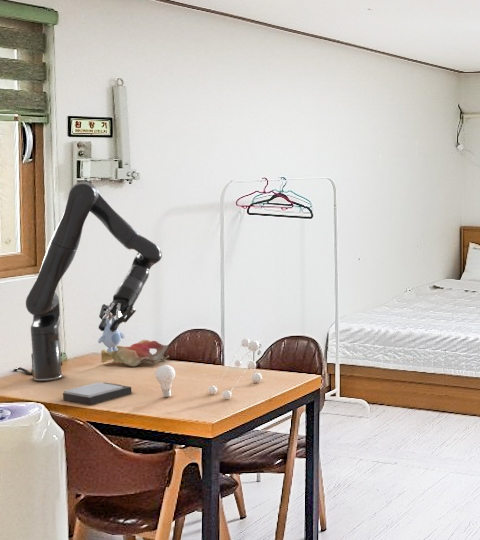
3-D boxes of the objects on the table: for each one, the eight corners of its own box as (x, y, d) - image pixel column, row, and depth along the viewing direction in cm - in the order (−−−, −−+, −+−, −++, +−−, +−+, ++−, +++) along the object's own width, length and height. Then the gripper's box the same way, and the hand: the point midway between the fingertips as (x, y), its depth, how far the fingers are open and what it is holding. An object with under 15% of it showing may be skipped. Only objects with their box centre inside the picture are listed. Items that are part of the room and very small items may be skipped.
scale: (63, 400, 291) (62, 390, 291) (104, 389, 305) (104, 380, 304) (90, 405, 284) (89, 395, 284) (131, 393, 298) (131, 384, 298)
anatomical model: (141, 370, 332) (135, 345, 331) (97, 376, 343) (91, 351, 342) (185, 355, 352) (179, 331, 352) (141, 361, 363) (136, 337, 362)
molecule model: (275, 387, 310) (282, 341, 305) (225, 408, 288) (232, 358, 283) (244, 374, 315) (250, 328, 310) (193, 393, 293) (199, 344, 288)
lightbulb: (170, 394, 297) (168, 362, 295) (180, 396, 293) (178, 364, 291) (153, 397, 292) (151, 365, 291) (163, 400, 288) (161, 368, 287)
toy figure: (104, 355, 305) (103, 321, 303) (93, 353, 308) (91, 319, 307) (130, 349, 314) (129, 316, 313) (119, 347, 317) (117, 315, 316)
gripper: (107, 284, 318) (84, 323, 308) (139, 285, 313) (116, 325, 303) (118, 296, 323) (96, 335, 313) (150, 298, 319) (128, 337, 309)
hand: (106, 330), depth 308 cm, fingers closed on toy figure, 4 cm apart
